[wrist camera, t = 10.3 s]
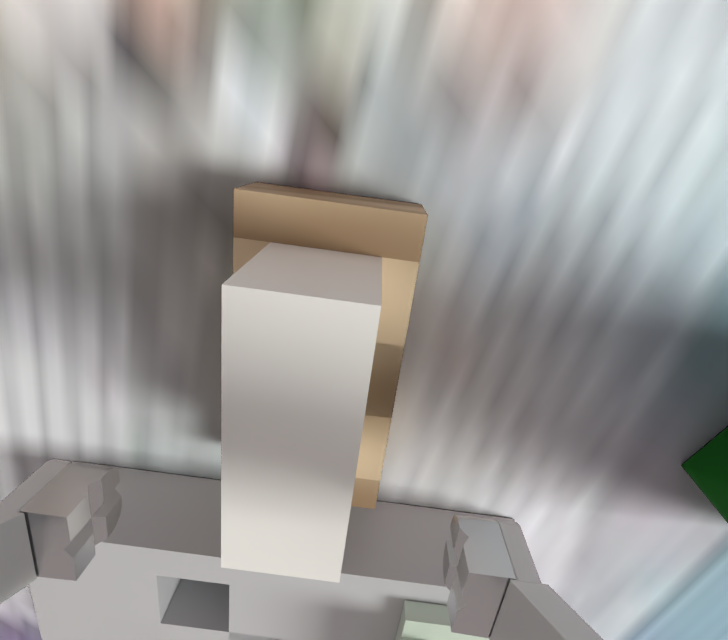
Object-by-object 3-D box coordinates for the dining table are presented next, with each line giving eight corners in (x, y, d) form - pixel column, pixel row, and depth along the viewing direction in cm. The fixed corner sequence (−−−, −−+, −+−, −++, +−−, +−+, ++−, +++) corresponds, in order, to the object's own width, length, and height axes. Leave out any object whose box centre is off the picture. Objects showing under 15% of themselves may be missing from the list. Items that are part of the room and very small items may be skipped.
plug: (285, 229, 16) (221, 284, 10) (382, 242, 16) (381, 305, 10) (273, 431, 19) (220, 567, 13) (353, 442, 19) (339, 582, 13)
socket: (81, 462, 21) (15, 530, 17) (514, 519, 21) (541, 599, 17) (105, 625, 25) (58, 707, 22) (461, 670, 26) (474, 760, 22)
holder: (256, 181, 16) (233, 188, 13) (421, 204, 16) (428, 215, 13) (247, 450, 20) (230, 490, 18) (376, 467, 20) (374, 509, 18)
